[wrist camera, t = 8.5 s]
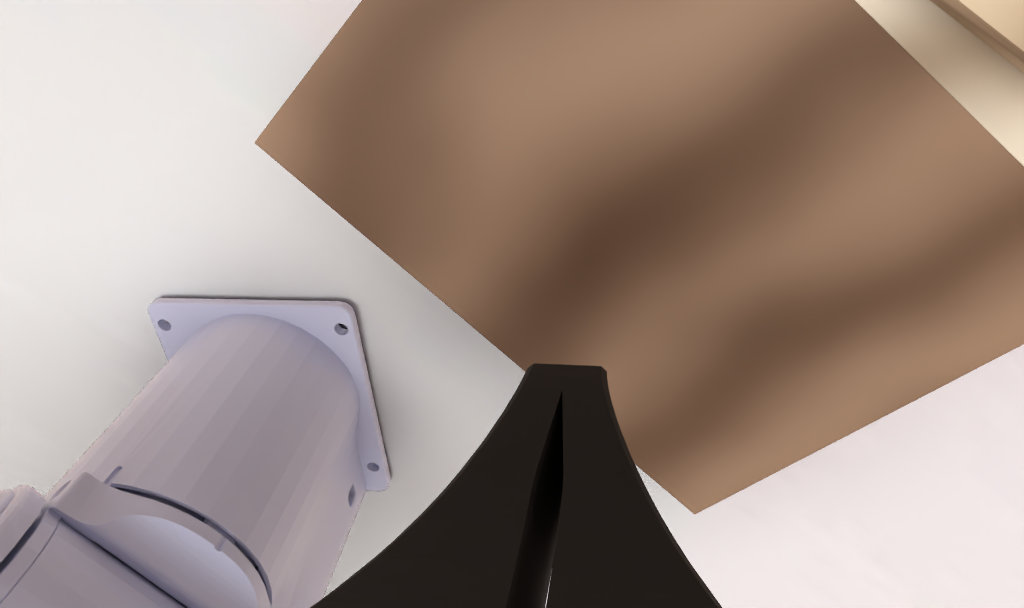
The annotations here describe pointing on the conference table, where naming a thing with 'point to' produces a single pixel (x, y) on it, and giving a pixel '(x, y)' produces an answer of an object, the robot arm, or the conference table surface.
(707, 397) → the stool seat
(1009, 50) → the folding leg
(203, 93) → the conference table surface
